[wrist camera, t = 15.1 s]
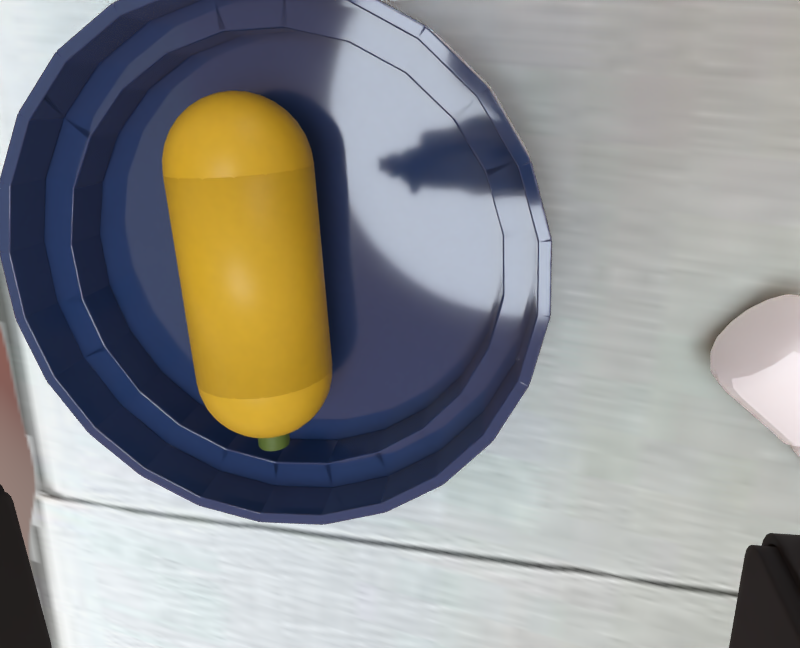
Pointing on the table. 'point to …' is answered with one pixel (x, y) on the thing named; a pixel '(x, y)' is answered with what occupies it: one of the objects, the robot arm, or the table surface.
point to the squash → (250, 263)
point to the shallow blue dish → (340, 239)
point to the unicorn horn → (764, 364)
